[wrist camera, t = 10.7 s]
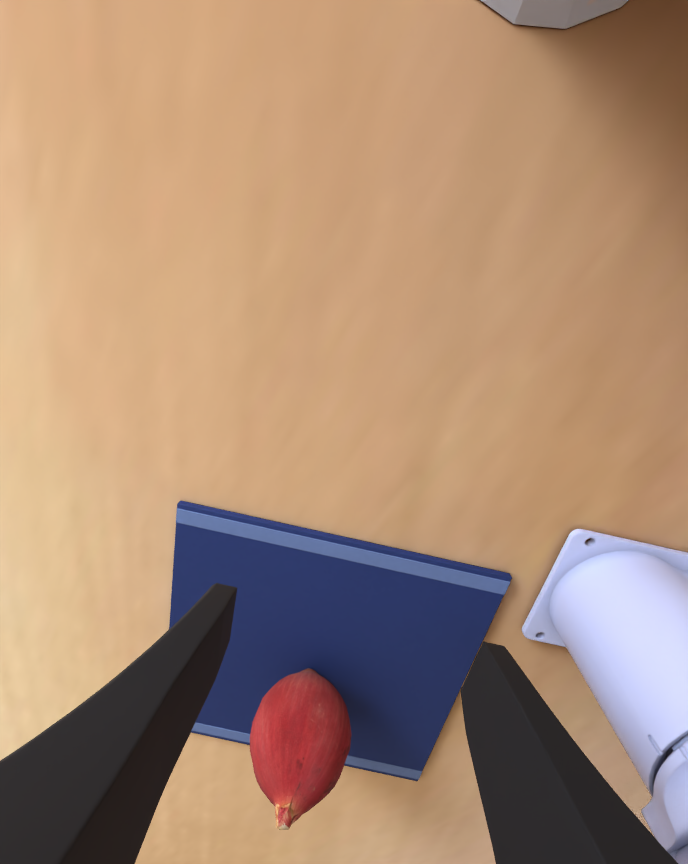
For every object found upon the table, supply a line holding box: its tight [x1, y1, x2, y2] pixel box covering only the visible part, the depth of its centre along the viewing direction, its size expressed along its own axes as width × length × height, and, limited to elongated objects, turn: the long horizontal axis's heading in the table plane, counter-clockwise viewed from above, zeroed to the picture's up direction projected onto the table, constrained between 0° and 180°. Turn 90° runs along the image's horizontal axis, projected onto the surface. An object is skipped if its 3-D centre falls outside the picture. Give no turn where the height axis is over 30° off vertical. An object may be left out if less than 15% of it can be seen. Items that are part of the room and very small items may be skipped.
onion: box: [250, 668, 351, 830], centre depth 21 cm, size 6×6×8 cm
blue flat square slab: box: [169, 501, 512, 781], centre depth 25 cm, size 20×20×1 cm
